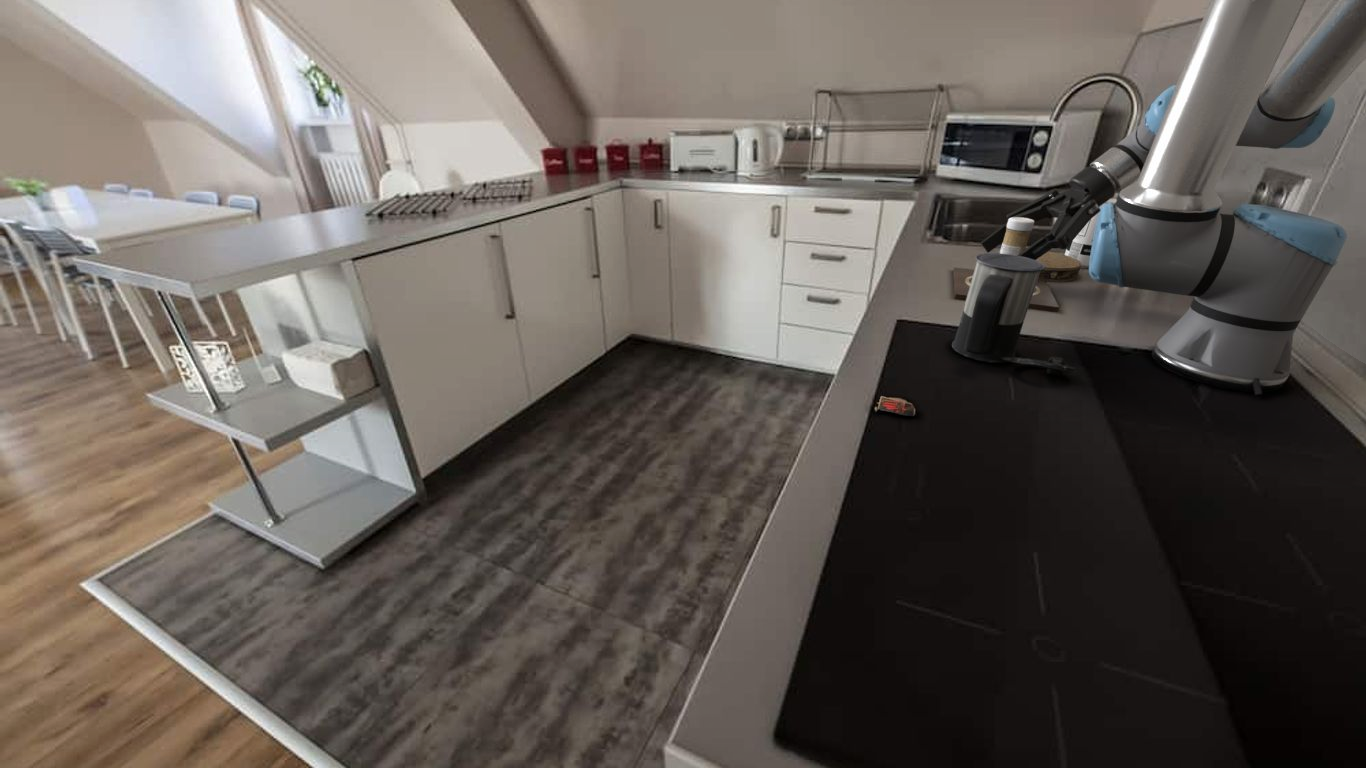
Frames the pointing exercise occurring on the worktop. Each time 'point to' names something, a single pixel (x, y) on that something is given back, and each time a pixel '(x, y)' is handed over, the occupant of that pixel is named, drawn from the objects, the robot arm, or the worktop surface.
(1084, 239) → the supplement can
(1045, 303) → the serving tray
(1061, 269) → the brown round flat disc
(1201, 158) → the robot arm
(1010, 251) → the sprinkles bottle
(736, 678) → the worktop surface
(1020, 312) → the milk frother
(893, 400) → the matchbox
